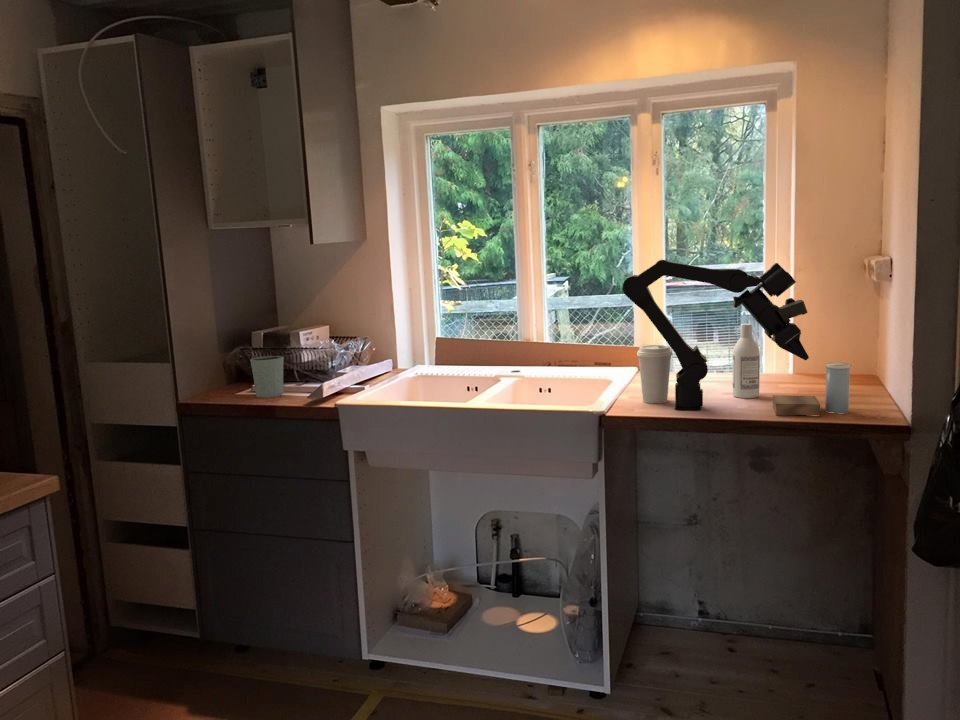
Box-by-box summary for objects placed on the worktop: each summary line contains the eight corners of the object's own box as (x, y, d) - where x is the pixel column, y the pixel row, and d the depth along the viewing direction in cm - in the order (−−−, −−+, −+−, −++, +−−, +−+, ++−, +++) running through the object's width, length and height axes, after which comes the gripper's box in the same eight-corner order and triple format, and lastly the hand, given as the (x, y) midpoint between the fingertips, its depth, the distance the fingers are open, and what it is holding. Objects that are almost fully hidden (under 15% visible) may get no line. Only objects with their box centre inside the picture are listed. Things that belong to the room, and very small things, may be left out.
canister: (826, 414, 188) (827, 365, 186) (823, 409, 193) (824, 362, 191) (850, 414, 187) (852, 365, 185) (847, 409, 192) (848, 362, 190)
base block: (775, 415, 189) (776, 403, 188) (772, 406, 198) (772, 395, 198) (820, 416, 186) (820, 404, 186) (814, 407, 195) (815, 395, 195)
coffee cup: (666, 405, 205) (666, 350, 203) (632, 403, 210) (631, 348, 208) (677, 398, 213) (677, 345, 211) (644, 396, 218) (643, 344, 216)
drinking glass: (249, 398, 241) (245, 360, 239) (259, 392, 251) (256, 355, 249) (281, 397, 241) (278, 359, 239) (290, 391, 251) (287, 354, 249)
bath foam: (764, 396, 211) (765, 323, 208) (746, 399, 208) (747, 326, 205) (744, 392, 217) (745, 322, 214) (727, 396, 214) (727, 324, 211)
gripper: (795, 290, 182) (839, 340, 182) (782, 285, 200) (822, 330, 200) (757, 321, 185) (800, 370, 185) (747, 313, 203) (787, 358, 203)
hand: (803, 356), depth 193 cm, fingers open, 9 cm apart
